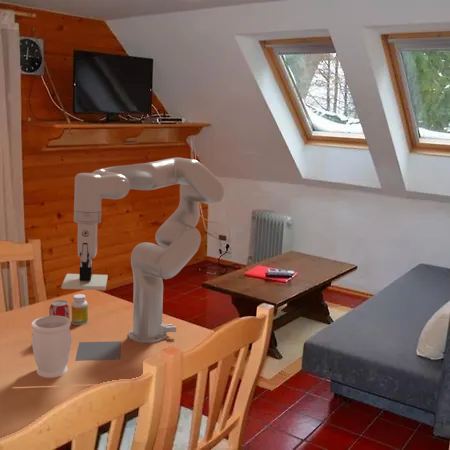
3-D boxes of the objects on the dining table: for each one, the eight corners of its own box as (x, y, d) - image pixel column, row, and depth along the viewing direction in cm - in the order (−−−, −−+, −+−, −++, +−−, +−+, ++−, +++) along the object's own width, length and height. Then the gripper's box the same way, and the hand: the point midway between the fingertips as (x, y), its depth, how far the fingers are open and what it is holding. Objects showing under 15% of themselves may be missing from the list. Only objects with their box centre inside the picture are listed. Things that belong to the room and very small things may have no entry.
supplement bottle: (84, 326, 191) (83, 299, 189) (69, 324, 192) (68, 297, 190) (90, 320, 196) (90, 294, 194) (75, 318, 197) (75, 292, 195)
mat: (121, 342, 180) (121, 341, 180) (120, 360, 167) (120, 359, 167) (79, 343, 178) (79, 342, 178) (75, 361, 165) (75, 360, 165)
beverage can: (64, 343, 177) (63, 307, 175) (46, 340, 178) (45, 305, 176) (73, 335, 183) (73, 300, 181) (55, 333, 184) (55, 298, 182)
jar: (26, 370, 158) (24, 320, 155) (59, 360, 166) (59, 312, 162) (44, 384, 151) (43, 332, 148) (78, 373, 158) (78, 323, 155)
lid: (107, 278, 170) (108, 255, 169) (105, 289, 159) (106, 266, 158) (66, 276, 169) (67, 254, 167) (61, 288, 157) (62, 264, 156)
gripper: (98, 222, 153) (96, 287, 156) (102, 212, 169) (100, 271, 172) (70, 221, 152) (69, 286, 155) (77, 211, 167) (75, 270, 171)
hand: (85, 277), depth 163 cm, fingers closed on lid, 3 cm apart
